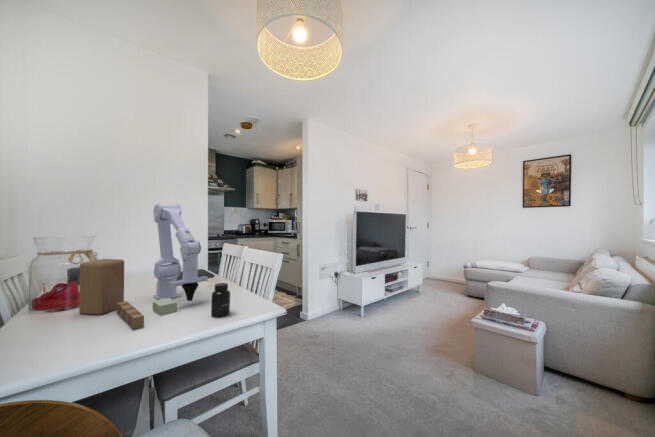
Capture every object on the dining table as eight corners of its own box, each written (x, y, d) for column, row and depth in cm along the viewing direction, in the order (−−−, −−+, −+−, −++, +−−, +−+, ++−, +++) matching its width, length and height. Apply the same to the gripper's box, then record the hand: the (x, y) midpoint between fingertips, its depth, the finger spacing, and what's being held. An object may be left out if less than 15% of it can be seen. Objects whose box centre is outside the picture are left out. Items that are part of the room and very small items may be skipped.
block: (124, 306, 104) (125, 259, 104) (101, 315, 95) (101, 263, 94) (103, 305, 105) (104, 258, 105) (77, 314, 96) (78, 262, 95)
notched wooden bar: (116, 313, 97) (117, 302, 97) (126, 310, 100) (126, 301, 100) (133, 330, 84) (133, 318, 84) (143, 327, 86) (144, 315, 86)
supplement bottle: (225, 318, 95) (225, 287, 95) (207, 317, 95) (208, 286, 95) (232, 311, 102) (233, 282, 102) (216, 310, 102) (216, 281, 102)
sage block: (152, 311, 101) (152, 301, 101) (169, 307, 106) (169, 297, 105) (159, 316, 96) (160, 306, 96) (176, 311, 101) (177, 302, 101)
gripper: (175, 273, 100) (175, 307, 100) (211, 268, 111) (210, 298, 111) (168, 270, 104) (168, 302, 104) (203, 265, 116) (203, 294, 116)
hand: (189, 300), depth 108 cm, fingers closed
